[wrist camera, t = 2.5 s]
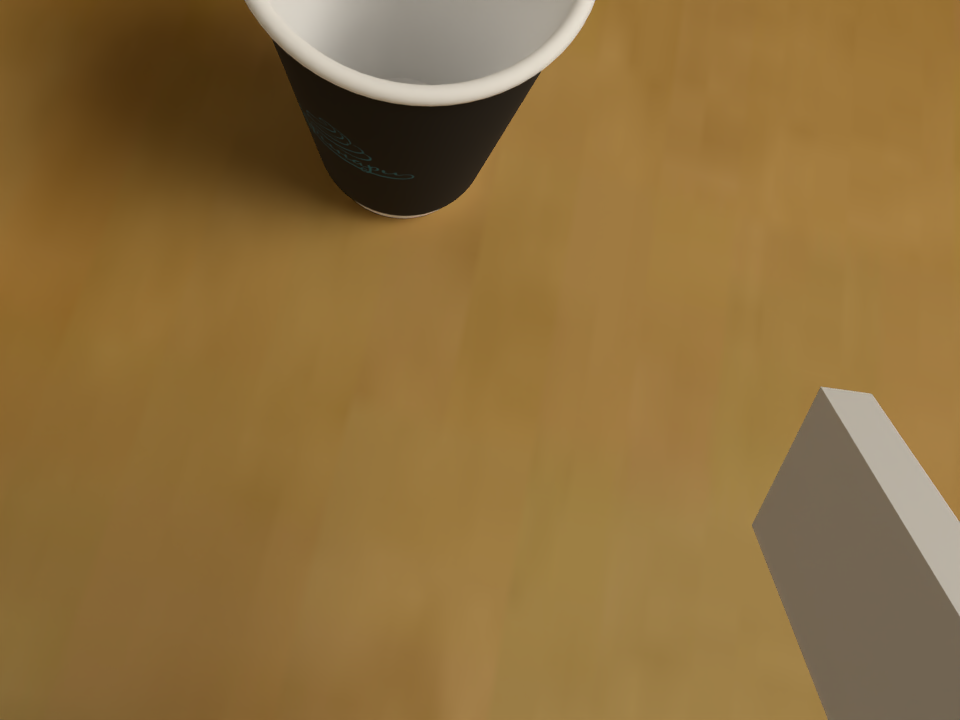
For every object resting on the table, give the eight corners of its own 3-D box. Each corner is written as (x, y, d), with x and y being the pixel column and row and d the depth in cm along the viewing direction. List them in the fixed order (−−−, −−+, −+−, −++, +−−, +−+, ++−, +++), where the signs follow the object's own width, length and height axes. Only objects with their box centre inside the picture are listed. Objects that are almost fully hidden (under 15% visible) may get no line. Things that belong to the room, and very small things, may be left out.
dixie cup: (272, 256, 26) (204, 81, 16) (289, 33, 28) (237, -267, 17) (515, 271, 27) (607, 116, 17) (519, 54, 29) (606, -217, 18)
